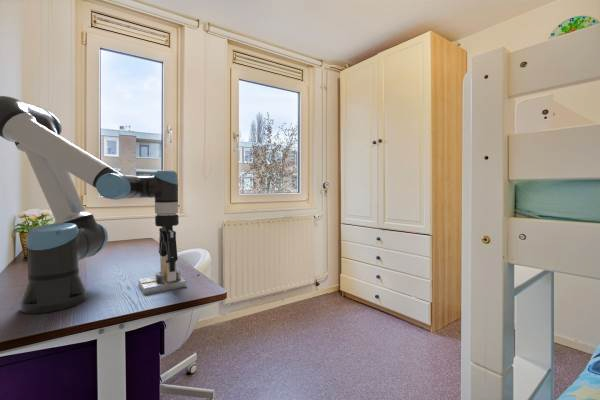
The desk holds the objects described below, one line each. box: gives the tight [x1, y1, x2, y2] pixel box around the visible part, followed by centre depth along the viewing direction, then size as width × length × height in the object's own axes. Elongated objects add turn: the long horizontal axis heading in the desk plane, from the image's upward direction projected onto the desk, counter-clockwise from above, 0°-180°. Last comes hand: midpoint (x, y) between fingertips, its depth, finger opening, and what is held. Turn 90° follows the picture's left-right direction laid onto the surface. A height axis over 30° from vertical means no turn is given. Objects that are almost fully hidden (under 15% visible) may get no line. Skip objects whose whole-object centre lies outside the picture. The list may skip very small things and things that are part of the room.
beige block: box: [163, 259, 168, 281], centre depth 105 cm, size 4×4×7 cm
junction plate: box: [138, 268, 187, 295], centre depth 103 cm, size 13×12×4 cm
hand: (168, 277), depth 104 cm, fingers open, 10 cm apart
